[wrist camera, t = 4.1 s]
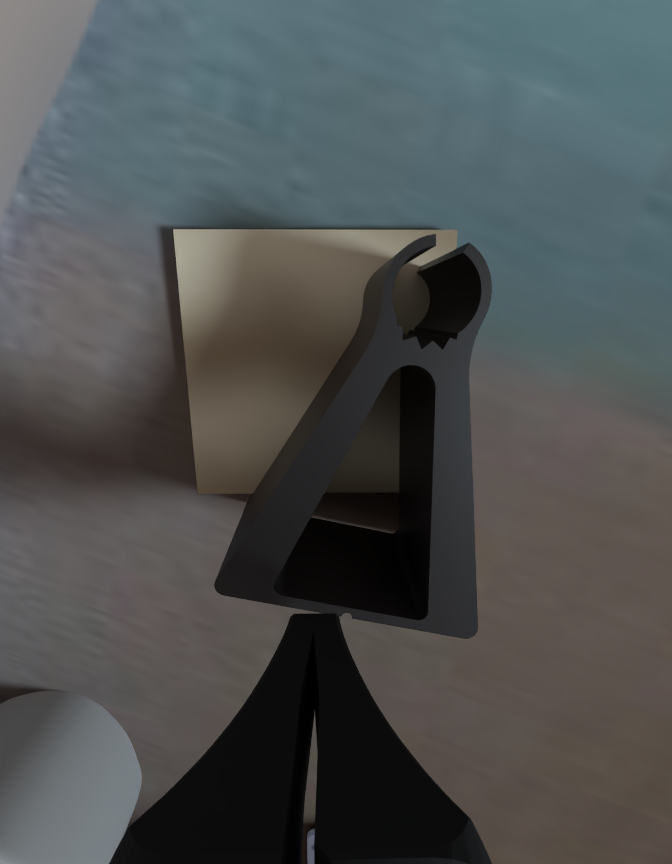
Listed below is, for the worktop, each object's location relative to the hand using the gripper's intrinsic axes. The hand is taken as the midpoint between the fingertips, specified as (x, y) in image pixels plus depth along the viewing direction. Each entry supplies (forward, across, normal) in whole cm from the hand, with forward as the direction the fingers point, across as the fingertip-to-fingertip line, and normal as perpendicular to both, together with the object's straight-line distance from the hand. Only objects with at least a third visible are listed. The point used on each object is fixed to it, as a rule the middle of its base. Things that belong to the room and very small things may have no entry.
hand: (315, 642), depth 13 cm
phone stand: (+5, -1, +1) cm, 5 cm away
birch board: (+8, 0, -7) cm, 11 cm away
